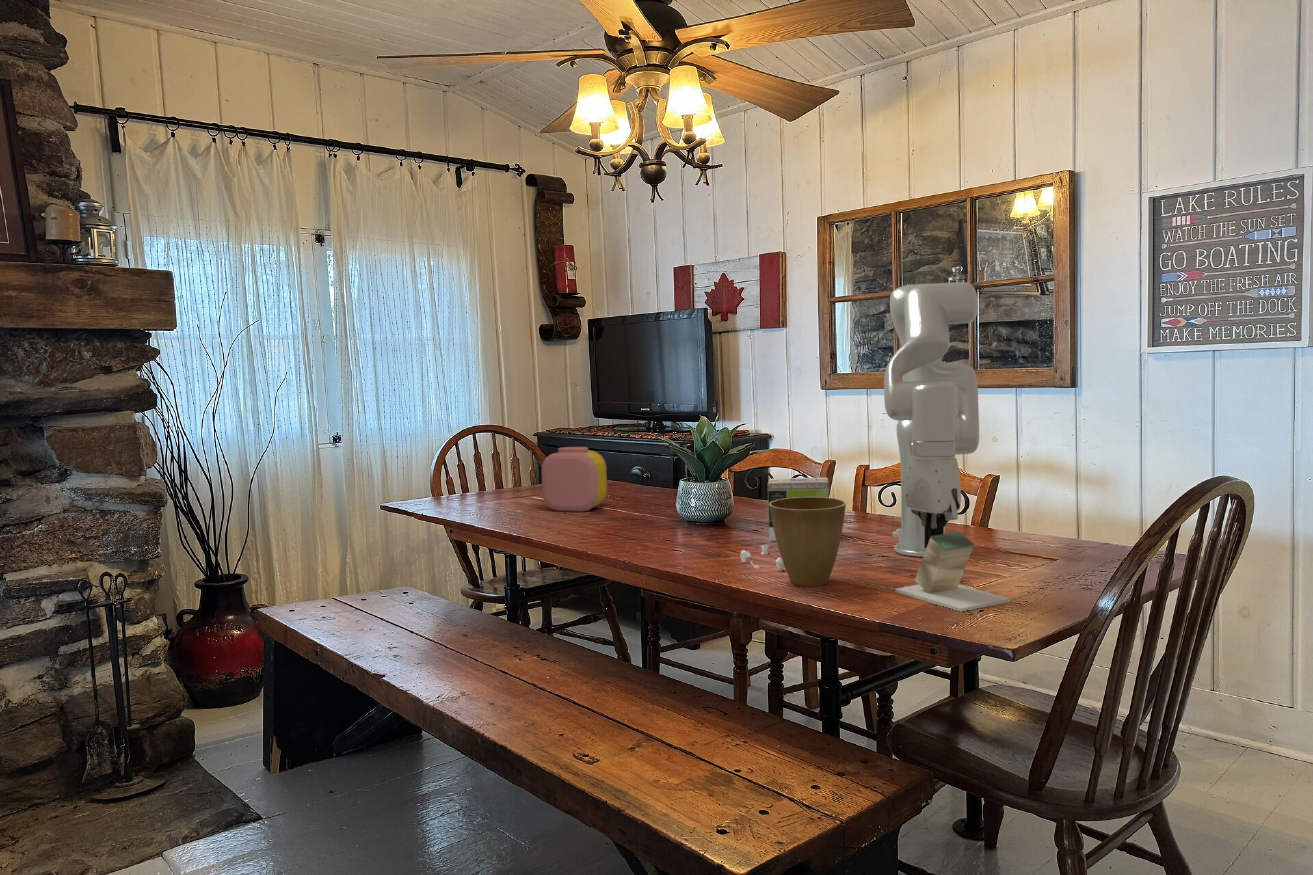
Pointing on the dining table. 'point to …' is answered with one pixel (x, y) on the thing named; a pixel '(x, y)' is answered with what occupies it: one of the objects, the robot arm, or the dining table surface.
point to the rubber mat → (955, 597)
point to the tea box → (794, 492)
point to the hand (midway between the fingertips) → (934, 548)
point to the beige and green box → (944, 562)
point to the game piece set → (764, 551)
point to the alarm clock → (574, 479)
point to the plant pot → (808, 536)
